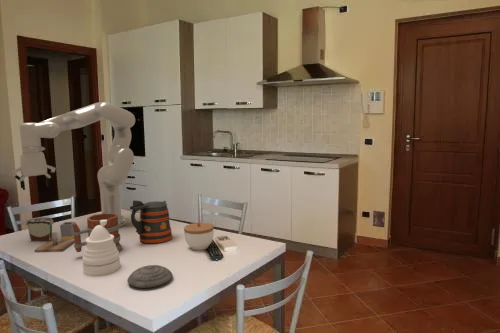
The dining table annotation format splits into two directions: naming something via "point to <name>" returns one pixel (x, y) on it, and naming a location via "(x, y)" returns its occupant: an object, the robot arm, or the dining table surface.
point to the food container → (40, 229)
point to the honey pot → (100, 252)
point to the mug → (92, 222)
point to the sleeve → (67, 230)
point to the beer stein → (152, 221)
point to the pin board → (55, 245)
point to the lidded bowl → (199, 235)
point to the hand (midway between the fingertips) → (36, 188)
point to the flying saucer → (149, 276)
